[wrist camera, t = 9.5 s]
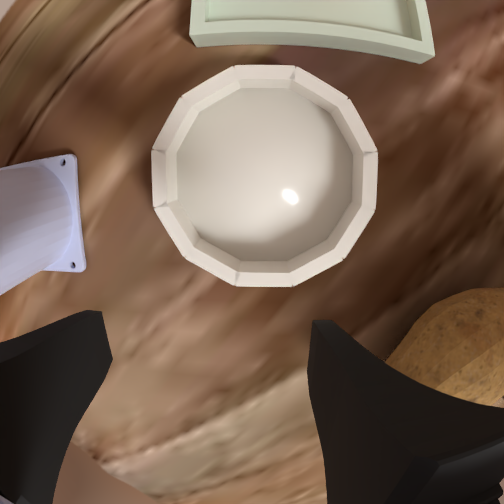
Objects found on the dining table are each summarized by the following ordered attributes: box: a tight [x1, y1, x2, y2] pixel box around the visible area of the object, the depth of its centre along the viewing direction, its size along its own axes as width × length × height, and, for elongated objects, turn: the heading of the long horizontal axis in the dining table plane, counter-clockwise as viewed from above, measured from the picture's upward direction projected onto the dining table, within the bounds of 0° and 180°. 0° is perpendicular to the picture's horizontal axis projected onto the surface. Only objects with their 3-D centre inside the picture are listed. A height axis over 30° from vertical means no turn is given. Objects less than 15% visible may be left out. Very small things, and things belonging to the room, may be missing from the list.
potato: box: [385, 287, 504, 406], centre depth 16 cm, size 10×14×8 cm
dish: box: [151, 65, 378, 287], centre depth 16 cm, size 12×12×2 cm
